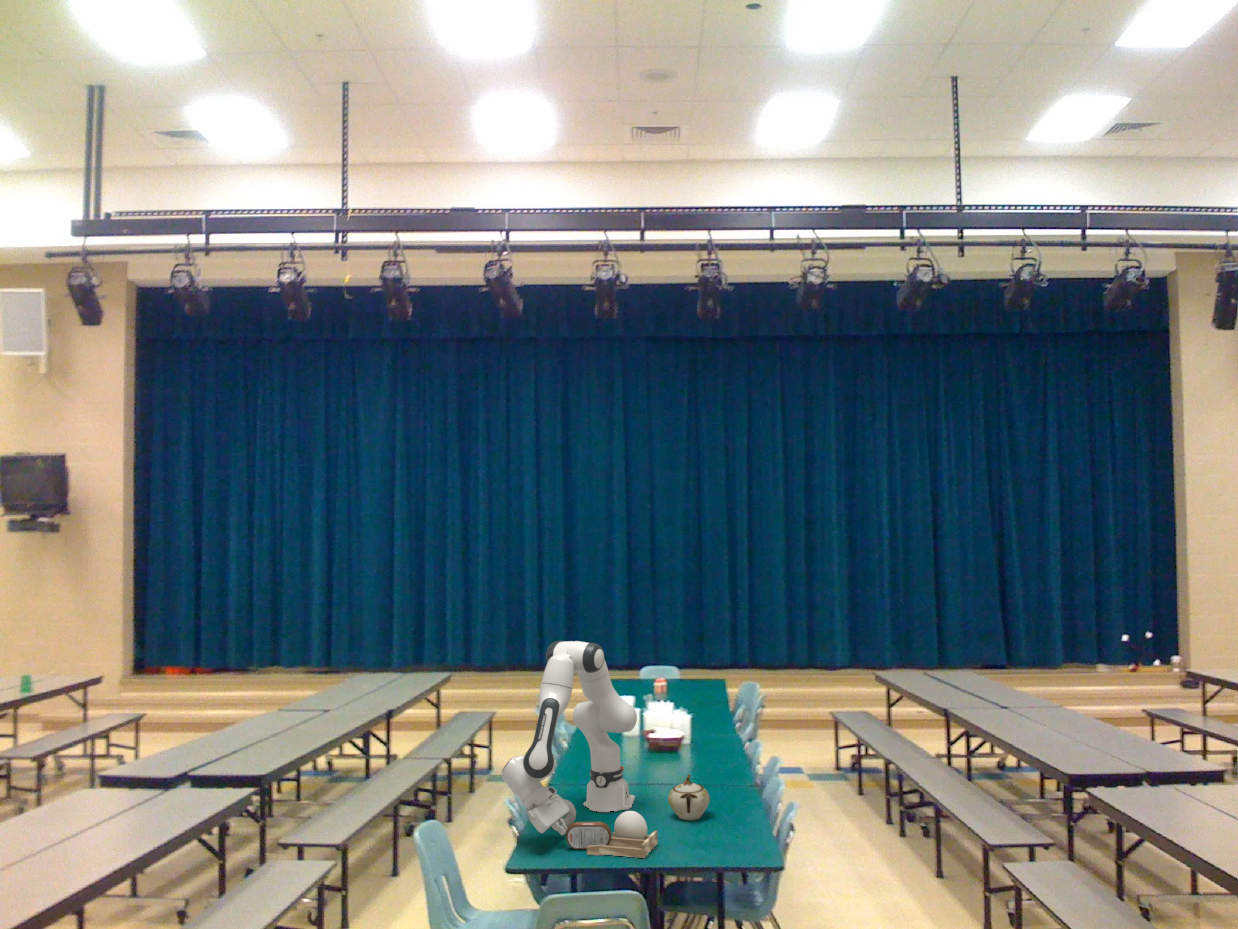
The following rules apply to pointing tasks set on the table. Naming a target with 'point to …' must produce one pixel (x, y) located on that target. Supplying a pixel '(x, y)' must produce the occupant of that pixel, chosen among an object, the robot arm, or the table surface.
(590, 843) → the tin
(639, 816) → the racked plate
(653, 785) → the table surface
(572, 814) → the donut
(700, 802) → the sugar bowl
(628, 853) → the rack
